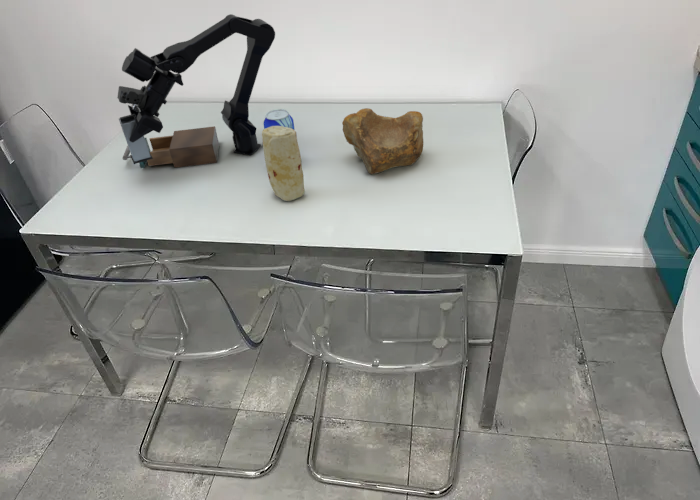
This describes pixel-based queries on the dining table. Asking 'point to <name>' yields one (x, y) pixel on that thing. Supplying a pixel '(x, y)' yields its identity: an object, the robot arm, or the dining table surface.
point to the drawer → (156, 151)
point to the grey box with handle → (139, 146)
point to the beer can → (278, 119)
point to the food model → (283, 162)
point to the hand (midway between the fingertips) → (129, 138)
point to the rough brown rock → (384, 138)
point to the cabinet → (194, 147)
